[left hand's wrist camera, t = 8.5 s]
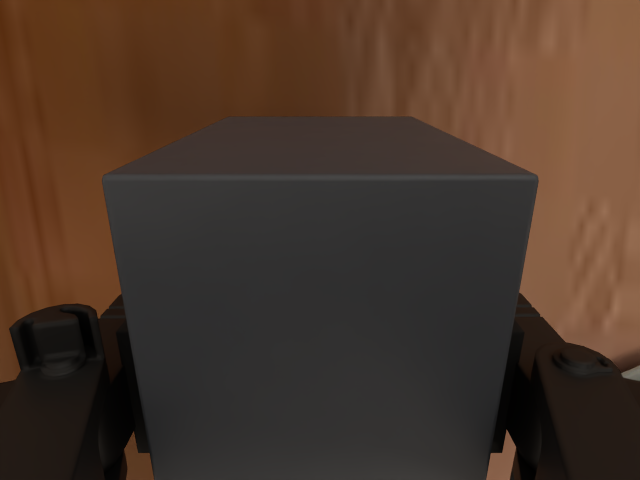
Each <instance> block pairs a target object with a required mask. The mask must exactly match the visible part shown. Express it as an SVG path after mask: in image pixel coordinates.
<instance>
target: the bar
mask: <svg viewBox="0 0 640 480" xmlns="http://www.w3.org/2000/svg"><path fill="white" fill-rule="evenodd" d="M102 183H103V189H104V195H105V201H106V206H107V212H108V218H109V223H110V229H111V235H112V241H113V246H114V252H115V258H116V263H117V269H118V275H119V281H120V286H121V292H122V298H123V303H124V309H125V315H126V320H127V326H128V332H129V338H130V343H131V349H132V355H133V360H134V366H135V372H136V378H137V383H138V389H139V395H140V400H141V406H142V412H143V417H144V423H145V429H146V435H147V440H148V446H149V452H150V457H151V463H152V469H153V475H154V480H486V477H487V471H488V466H489V460H490V454H491V449H492V443H493V437H494V431H495V426H496V420H497V414H498V409H499V403H500V397H501V392H502V386H503V380H504V375H505V369H506V363H507V358H508V352H509V346H510V341H511V335H512V329H513V323H514V318H515V312H516V306H517V301H518V295H519V289H520V284H521V278H522V272H523V267H524V261H525V255H526V250H527V244H528V238H529V232H530V227H531V221H532V215H533V210H534V204H535V198H536V193H537V187H538V176H537V175H536V174H533V173H531V172H529V171H527V170H525V169H523V168H521V167H518V166H516V165H514V164H512V163H510V162H508V161H506V160H503V159H501V158H499V157H497V156H495V155H493V154H491V153H488V152H486V151H484V150H482V149H480V148H478V147H476V146H473V145H471V144H469V143H467V142H465V141H463V140H461V139H458V138H456V137H454V136H452V135H450V134H448V133H446V132H443V131H441V130H439V129H437V128H435V127H433V126H431V125H428V124H426V123H424V122H422V121H420V120H418V119H416V118H413V117H227V118H225V119H222V120H220V121H218V122H216V123H214V124H212V125H210V126H208V127H205V128H203V129H201V130H199V131H197V132H195V133H193V134H190V135H188V136H186V137H184V138H182V139H180V140H178V141H175V142H173V143H171V144H169V145H167V146H165V147H163V148H161V149H158V150H156V151H154V152H152V153H150V154H148V155H146V156H143V157H141V158H139V159H137V160H135V161H133V162H131V163H128V164H126V165H124V166H122V167H120V168H118V169H116V170H113V171H111V172H109V173H107V174H105V175H103V178H102Z"/></svg>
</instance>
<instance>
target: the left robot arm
mask: <svg viewBox="0 0 640 480" xmlns="http://www.w3.org/2000/svg"><path fill="white" fill-rule="evenodd" d="M9 330H10V334H11V337H12V341H13V344H14V348H15V351H16V355H17V358H18V362H19V365H20V369H21V371H20V373H19V375H18V377H17V379H16V380H13V381H9V382H3V383H0V480H126V475H127V462H126V457H125V452H124V449H125V447H126V445H127V443H128V441H129V439H130V437H131V435H132V433H133V431H134V433H135V438H136V444H137V449H138V453H150V452H149V446H148V440H147V435H146V429H145V423H144V417H143V412H142V406H141V400H140V395H139V389H138V383H137V378H136V372H135V366H134V360H133V355H132V349H131V343H130V338H129V332H128V326H127V320H126V315H125V309H124V303H123V298H122V294H121V295H119V296H118V297H117V299H116V300H115V301H114V302H113V303H112V304H111V305H110V306H109V309H107V310H106V311H105V312H104V313H103V314H102V315H101V318H100V319H98V317H97V312H96V310H95V309H93V308H92V307H90V306H88V305H82V304H63V305H57V306H52V307H47V308H44V309H41V310H39V311H36V312H33V313H30V314H29V315H27V316H25V317H23V318H21V319H19V320H18V321H17V322H15V323H14V324H13V325H12V326H11V327H10V328H9ZM506 429H507V430H508V432H509V434H510V436H511V438H512V440H513V442H514V444H515V446H516V452H515V457H514V462H513V467H512V472H511V477H510V480H640V381H637V380H632V379H628V378H624V377H623V376H622V374H621V372H620V370H619V369H618V368H617V367H616V366H615V364H614V363H613V362H612V361H611V360H609V359H608V358H606V357H605V356H603V355H602V354H600V353H599V352H596V351H594V350H591V349H589V348H586V347H584V346H580V345H576V344H571V343H566V342H565V341H564V340H563V339H562V338H561V337H560V336H559V335H558V334H557V332H556V331H555V330H554V329H553V328H552V327H551V326H550V325H549V324H548V323H547V321H546V320H545V319H544V318H543V317H540V314H539V313H538V312H537V311H536V309H535V308H534V307H532V305H531V304H530V303H529V302H528V301H527V300H526V298H525V297H524V296H523V295H522V294H521V293H519V295H518V301H517V306H516V312H515V318H514V323H513V329H512V335H511V341H510V346H509V352H508V358H507V363H506V369H505V375H504V380H503V386H502V392H501V397H500V403H499V409H498V414H497V420H496V426H495V431H494V437H493V443H492V449H491V453H502V451H503V445H504V440H505V435H506Z"/></svg>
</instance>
